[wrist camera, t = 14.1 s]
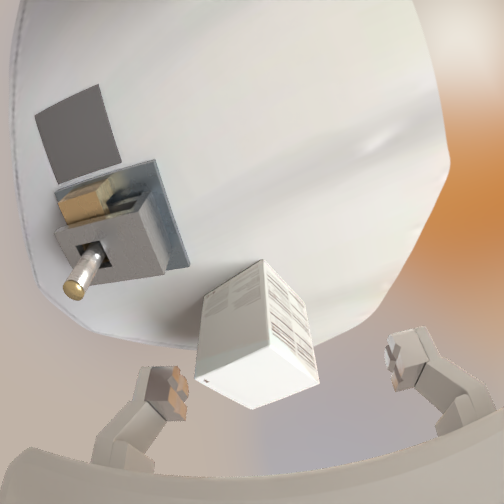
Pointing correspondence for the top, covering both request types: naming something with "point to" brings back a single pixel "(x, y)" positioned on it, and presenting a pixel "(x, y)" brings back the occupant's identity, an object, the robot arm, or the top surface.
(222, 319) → the supplement box
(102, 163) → the mat
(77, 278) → the pin
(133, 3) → the top surface
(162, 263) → the grey layered square block
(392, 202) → the top surface
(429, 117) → the top surface
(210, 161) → the top surface
